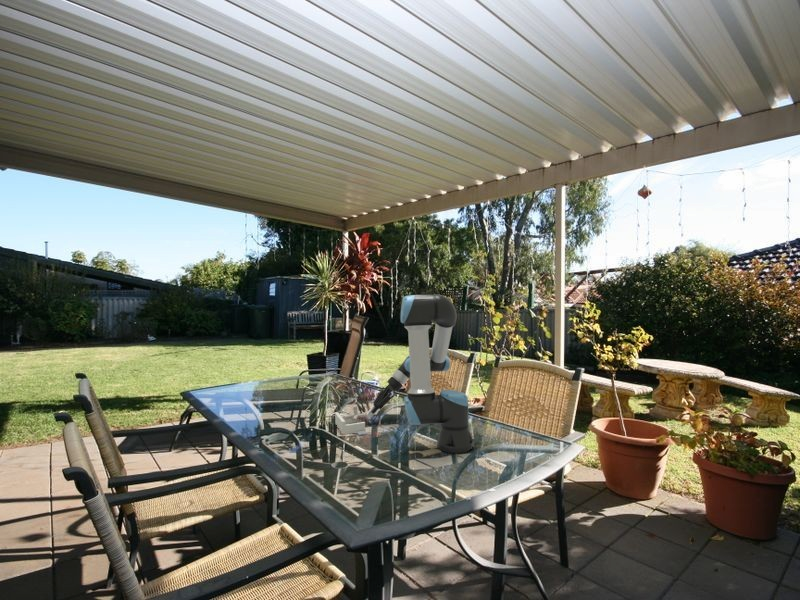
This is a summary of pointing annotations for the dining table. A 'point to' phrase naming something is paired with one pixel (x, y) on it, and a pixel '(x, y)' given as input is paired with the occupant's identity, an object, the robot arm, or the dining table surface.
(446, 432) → the robot arm
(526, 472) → the dining table surface
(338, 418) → the dock
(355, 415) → the pipe connector
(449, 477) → the dining table surface
